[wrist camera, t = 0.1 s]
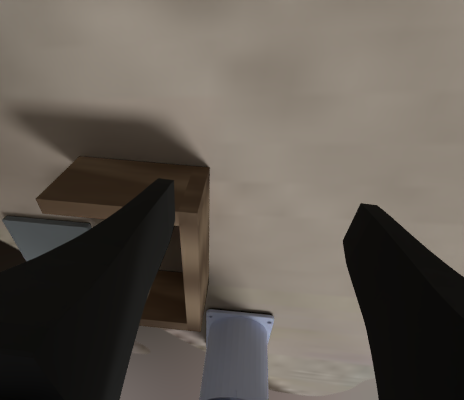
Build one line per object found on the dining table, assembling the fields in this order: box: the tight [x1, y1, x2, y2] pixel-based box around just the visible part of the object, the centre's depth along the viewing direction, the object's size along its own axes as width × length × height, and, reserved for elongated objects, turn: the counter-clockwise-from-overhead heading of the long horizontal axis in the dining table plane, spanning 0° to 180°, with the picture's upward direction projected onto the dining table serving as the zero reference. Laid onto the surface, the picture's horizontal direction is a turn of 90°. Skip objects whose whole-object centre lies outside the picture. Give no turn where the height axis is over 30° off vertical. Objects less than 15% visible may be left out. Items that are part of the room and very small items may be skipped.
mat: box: [2, 216, 91, 262], centre depth 29 cm, size 8×8×1 cm
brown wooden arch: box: [36, 156, 210, 332], centre depth 24 cm, size 14×10×6 cm
